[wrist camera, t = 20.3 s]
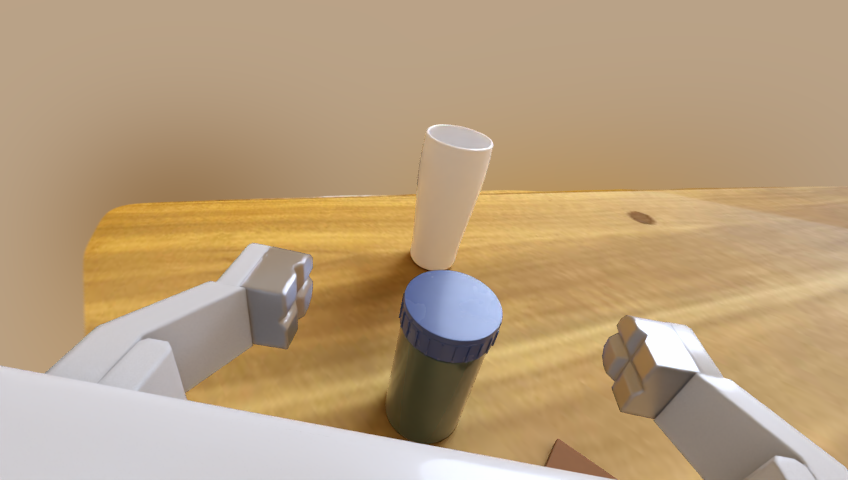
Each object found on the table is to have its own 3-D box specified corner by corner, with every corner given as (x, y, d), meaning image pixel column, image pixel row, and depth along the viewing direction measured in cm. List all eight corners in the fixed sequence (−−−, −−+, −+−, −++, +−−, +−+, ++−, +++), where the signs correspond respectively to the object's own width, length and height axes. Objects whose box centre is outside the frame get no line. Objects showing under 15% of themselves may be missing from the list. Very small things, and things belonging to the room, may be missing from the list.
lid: (464, 384, 21) (472, 362, 20) (378, 323, 23) (382, 300, 22) (510, 323, 25) (519, 302, 24) (434, 277, 28) (440, 257, 27)
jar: (432, 461, 26) (468, 363, 20) (369, 408, 28) (385, 307, 23) (473, 403, 30) (513, 308, 24) (415, 361, 33) (439, 265, 27)
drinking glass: (391, 257, 44) (411, 130, 36) (425, 235, 49) (449, 119, 41) (439, 286, 41) (472, 156, 33) (470, 260, 46) (506, 141, 38)
